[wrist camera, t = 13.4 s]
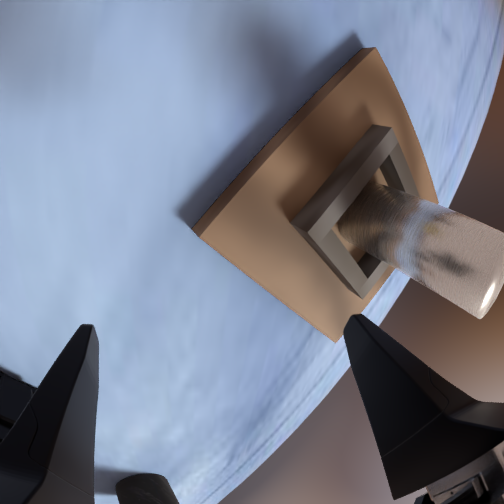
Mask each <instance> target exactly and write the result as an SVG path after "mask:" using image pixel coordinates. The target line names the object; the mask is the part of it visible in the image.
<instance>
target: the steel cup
mask: <svg viewBox="0 0 504 504" xmlns="http://www.w3.org/2000/svg"><path fill="white" fill-rule="evenodd" d="M338 227H339V232H340V234H341V236H342V238H343V239H344V240H345V241H347V242H349V243H350V244H352V245H354V246H356V247H358V248H360V249H361V250H363V251H365V252H367V253H369V254H370V255H372V256H374V257H376V258H378V259H379V260H381V261H383V262H385V263H387V264H388V265H390V266H392V267H394V268H395V269H397V270H399V271H401V272H402V273H404V274H406V275H407V276H409V277H411V278H413V279H414V280H416V281H418V282H419V283H421V284H423V285H425V286H426V287H428V288H430V289H431V290H433V291H435V292H436V293H438V294H440V295H441V296H443V297H444V298H446V299H448V300H450V301H452V302H453V303H454V304H456V305H458V306H459V307H461V308H462V309H464V310H466V311H467V312H469V313H470V314H472V315H474V316H475V317H477V318H478V319H481V318H482V317H484V315H485V314H486V313H487V312H488V310H489V309H490V308H491V306H492V304H493V303H494V301H495V299H496V298H497V296H498V294H499V292H500V290H501V287H502V286H503V283H504V233H503V232H501V231H499V230H497V229H494V228H492V227H490V226H488V225H486V224H483V223H481V222H479V221H476V220H474V219H472V218H470V217H467V216H464V215H462V214H460V213H458V212H455V211H453V210H450V209H448V208H445V207H443V206H440V205H438V204H435V203H433V202H430V201H427V200H425V199H422V198H419V197H417V196H414V195H411V194H409V193H406V192H403V191H400V190H397V189H394V188H392V187H389V186H386V185H383V184H380V183H377V182H374V181H371V180H369V181H368V183H367V184H366V185H365V187H364V188H363V189H362V191H361V192H360V193H359V194H358V196H357V197H356V198H355V199H354V201H353V202H352V203H351V205H350V206H349V207H348V208H347V210H346V211H345V212H344V213H343V215H342V216H341V217H340V218H339V220H338Z"/></svg>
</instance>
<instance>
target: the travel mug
mask: <svg viewBox="0 0 504 504" xmlns="http://www.w3.org/2000/svg"><path fill="white" fill-rule="evenodd" d="M116 493H117V497H118V500H119V504H179V502H178V500H177V498H176V496H175V494H174V492H173V490H172V488H171V487H170V485H169V483H168V481H167V479H166V478H165V477H164V476H161V475H158V474H140V475H135V476H131V477H128V478H125V479H123V480H121V481H120V482H118V483H117V485H116Z"/></svg>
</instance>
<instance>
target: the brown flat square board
mask: <svg viewBox="0 0 504 504" xmlns="http://www.w3.org/2000/svg"><path fill="white" fill-rule="evenodd" d="M369 180H371V181H374V182H377V183H380V184H383V185H386V186H389V187H392V188H394V189H397V190H400V191H403V192H406V193H409V194H411V195H414V196H417V197H419V198H422V199H425V200H427V201H430V202H433V203H435V204H438V203H439V202H438V199H437V195H436V192H435V188H434V185H433V182H432V178H431V175H430V172H429V169H428V166H427V163H426V160H425V157H424V154H423V151H422V149H421V146H420V143H419V141H418V138H417V135H416V133H415V130H414V127H413V125H412V122H411V120H410V118H409V115H408V113H407V110H406V108H405V106H404V103H403V101H402V99H401V97H400V95H399V92H398V90H397V88H396V86H395V84H394V82H393V80H392V78H391V75H390V73H389V71H388V69H387V67H386V65H385V64H384V62H383V60H382V58H381V56H380V54H379V52H378V50H377V49H376V47H372V48H362V49H361V50H360V51H359V52H358V53H357V54H356V55H355V56H353V57H352V58H351V59H350V60H349V61H348V62H347V63H346V64H345V65H344V66H343V67H342V68H341V69H340V70H339V71H338V72H337V73H336V74H335V75H334V76H333V77H332V78H331V79H330V80H329V81H328V82H327V83H325V84H324V85H323V86H322V87H321V88H320V89H319V90H318V91H317V92H316V93H315V94H314V95H313V96H312V97H311V98H310V99H309V100H308V101H307V103H306V104H305V105H304V106H303V107H302V108H301V109H300V110H299V111H298V112H297V113H296V114H295V115H294V116H293V117H292V118H291V119H290V120H289V121H288V122H287V123H286V124H285V125H284V126H283V127H282V128H281V129H280V130H279V131H278V133H277V134H276V135H275V136H274V137H273V138H272V139H271V140H270V141H269V142H268V143H267V144H266V145H265V146H264V148H263V149H262V150H261V151H260V152H259V153H258V154H257V155H256V156H255V157H254V158H253V159H252V161H251V162H250V163H249V164H248V165H247V166H246V167H245V168H244V169H243V170H242V172H241V173H240V174H239V175H238V176H237V177H236V178H235V179H234V181H233V182H232V183H231V184H230V185H229V186H228V187H227V188H226V190H225V191H224V192H223V193H222V194H221V195H220V196H219V198H218V199H217V200H216V201H215V202H214V203H213V205H212V206H211V207H210V208H209V209H208V210H207V211H206V213H205V214H204V215H203V216H202V217H201V219H200V220H199V221H198V222H197V223H196V224H195V226H194V227H193V228H192V230H193V231H194V233H195V234H196V235H197V236H198V237H199V238H201V239H202V240H203V241H204V242H206V243H207V244H208V245H209V246H211V247H212V248H213V249H214V250H216V251H217V252H218V253H219V254H221V255H222V256H223V257H225V258H226V259H227V260H228V261H230V262H231V263H232V264H233V265H235V266H236V267H237V268H238V269H240V270H241V271H242V272H244V273H245V274H246V275H247V276H249V277H250V278H251V279H253V280H254V281H255V282H256V283H258V284H259V285H260V286H262V287H263V288H264V289H265V290H267V291H268V292H269V293H271V294H272V295H273V296H274V297H276V298H277V299H278V300H280V301H281V302H282V303H283V304H285V305H286V306H287V307H289V308H290V309H291V310H293V311H294V312H295V313H297V314H298V315H299V316H300V317H302V318H303V319H304V320H306V321H307V322H308V323H310V324H311V325H312V326H314V327H315V328H316V329H317V330H319V331H320V332H321V333H323V334H324V335H325V336H327V337H328V338H329V339H331V340H332V341H333V342H335V343H336V342H337V341H338V340H339V339H340V338H341V337H342V335H343V330H344V327H345V325H346V323H347V321H348V320H349V318H350V316H351V315H353V314H361V312H362V311H363V310H364V309H365V307H366V306H367V305H368V303H369V302H370V301H371V300H372V298H373V297H374V296H375V294H376V293H377V292H378V291H379V289H380V288H381V287H382V285H383V284H384V283H385V281H386V280H387V279H388V277H389V276H390V274H391V273H392V272H393V270H394V269H395V268H394V267H392V266H390V265H388V264H387V263H385V262H383V261H381V260H379V259H378V258H376V257H374V256H372V255H370V254H369V253H367V252H365V251H363V250H361V249H360V248H358V247H356V246H354V245H352V244H350V243H349V242H347V241H345V240H344V239H343V238H342V236H341V234H340V232H339V227H338V220H339V218H340V217H341V216H342V215H343V213H344V212H345V211H346V210H347V208H348V207H349V206H350V205H351V203H352V202H353V201H354V199H355V198H356V197H357V196H358V194H359V193H360V192H361V191H362V189H363V188H364V187H365V185H366V184H367V183H368V181H369Z"/></svg>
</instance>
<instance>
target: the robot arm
mask: <svg viewBox="0 0 504 504" xmlns="http://www.w3.org/2000/svg"><path fill="white" fill-rule="evenodd" d="M343 335H344V339H345V343H346V347H347V351H348V356H349V360H350V364H351V368H352V371H353V374H354V377H355V380H356V382H357V385H358V388H359V391H360V394H361V397H362V400H363V403H364V406H365V409H366V412H367V415H368V418H369V421H370V424H371V427H372V430H373V433H374V436H375V440H376V443H377V446H378V449H379V452H380V455H381V457H382V458H381V459H382V462H383V466H384V469H385V473H386V476H387V479H388V483H389V486H390V490H391V493H392V497H393V499H394V500H396V499H398V498H401V497H403V496H406V495H408V494H410V493H413V492H415V491H417V490H419V489H422V488H424V487H426V489H427V492H426V493H425V494H423V495H421V496H420V497H418V498H416V500H415V503H414V504H504V403H494V402H481V401H478V400H475V399H474V398H472V397H470V396H469V395H467V394H466V393H464V392H463V391H461V390H460V389H458V388H456V386H454V385H453V384H451V383H450V382H448V381H447V380H445V379H444V378H442V377H441V376H440V375H439V374H438V373H436V372H435V371H434V370H432V369H431V368H430V367H428V366H427V365H426V364H425V363H424V362H422V361H421V360H420V359H419V358H417V357H416V356H415V355H413V354H412V353H411V352H409V351H408V350H407V349H406V348H405V347H403V346H402V345H401V344H399V343H398V342H397V341H396V340H395V339H393V338H392V337H391V336H389V335H388V334H387V333H386V332H384V331H383V330H382V329H381V328H379V327H378V326H377V325H375V324H374V323H373V322H372V321H370V320H369V319H368V318H366V317H365V316H364V315H362V314H353V315H351V316H350V318H349V320H348V321H347V323H346V325H345V327H344V330H343ZM98 389H99V341H98V337H97V334H96V331H95V328H94V326H93V325H92V324H82V325H80V327H79V328H78V329H77V331H76V332H75V333H74V335H73V336H72V338H71V339H70V340H69V342H68V343H67V345H66V346H65V348H64V349H63V350H62V352H61V353H60V355H59V356H58V358H57V359H56V361H55V362H54V364H53V365H52V367H51V368H50V370H49V371H48V373H47V374H46V376H45V377H44V379H43V380H42V382H41V383H40V385H39V386H38V388H37V390H36V389H34V388H32V387H30V386H28V385H26V384H23V383H21V382H19V381H17V380H15V379H13V378H11V377H9V376H7V375H5V374H3V373H1V372H0V504H95V502H94V448H95V428H96V413H97V401H98Z"/></svg>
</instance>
